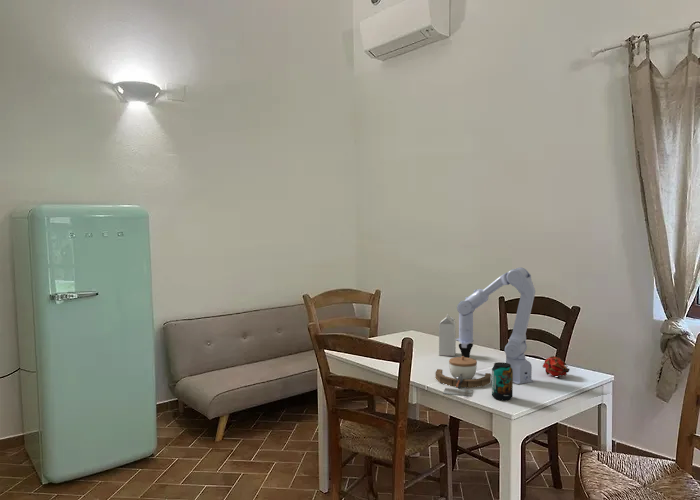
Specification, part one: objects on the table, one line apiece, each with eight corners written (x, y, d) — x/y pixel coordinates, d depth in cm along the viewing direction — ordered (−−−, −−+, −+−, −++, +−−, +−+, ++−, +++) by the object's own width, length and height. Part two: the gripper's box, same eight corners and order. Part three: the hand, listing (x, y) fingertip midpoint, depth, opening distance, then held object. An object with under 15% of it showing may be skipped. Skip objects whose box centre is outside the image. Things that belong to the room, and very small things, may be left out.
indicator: (458, 377, 202) (458, 372, 202) (464, 377, 201) (464, 372, 201) (453, 388, 188) (453, 383, 188) (460, 389, 187) (460, 383, 187)
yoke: (437, 375, 213) (437, 369, 213) (490, 379, 206) (490, 373, 206) (428, 392, 191) (428, 385, 191) (487, 397, 185) (487, 390, 185)
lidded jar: (477, 377, 210) (477, 353, 210) (476, 384, 200) (476, 360, 199) (450, 375, 213) (450, 352, 213) (447, 382, 203) (447, 358, 202)
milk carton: (438, 355, 244) (438, 315, 243) (440, 352, 251) (440, 312, 250) (454, 356, 242) (454, 316, 241) (455, 353, 249) (455, 313, 248)
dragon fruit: (546, 375, 217) (565, 387, 206) (533, 365, 215) (552, 377, 203) (558, 358, 218) (578, 370, 206) (545, 348, 215) (565, 359, 203)
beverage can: (511, 402, 180) (511, 367, 179) (490, 399, 183) (491, 366, 182) (513, 396, 187) (513, 362, 186) (493, 393, 189) (493, 361, 189)
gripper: (458, 325, 225) (458, 356, 225) (454, 331, 211) (453, 365, 211) (474, 326, 222) (474, 357, 223) (471, 332, 209) (471, 366, 209)
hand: (465, 361), depth 217 cm, fingers closed
